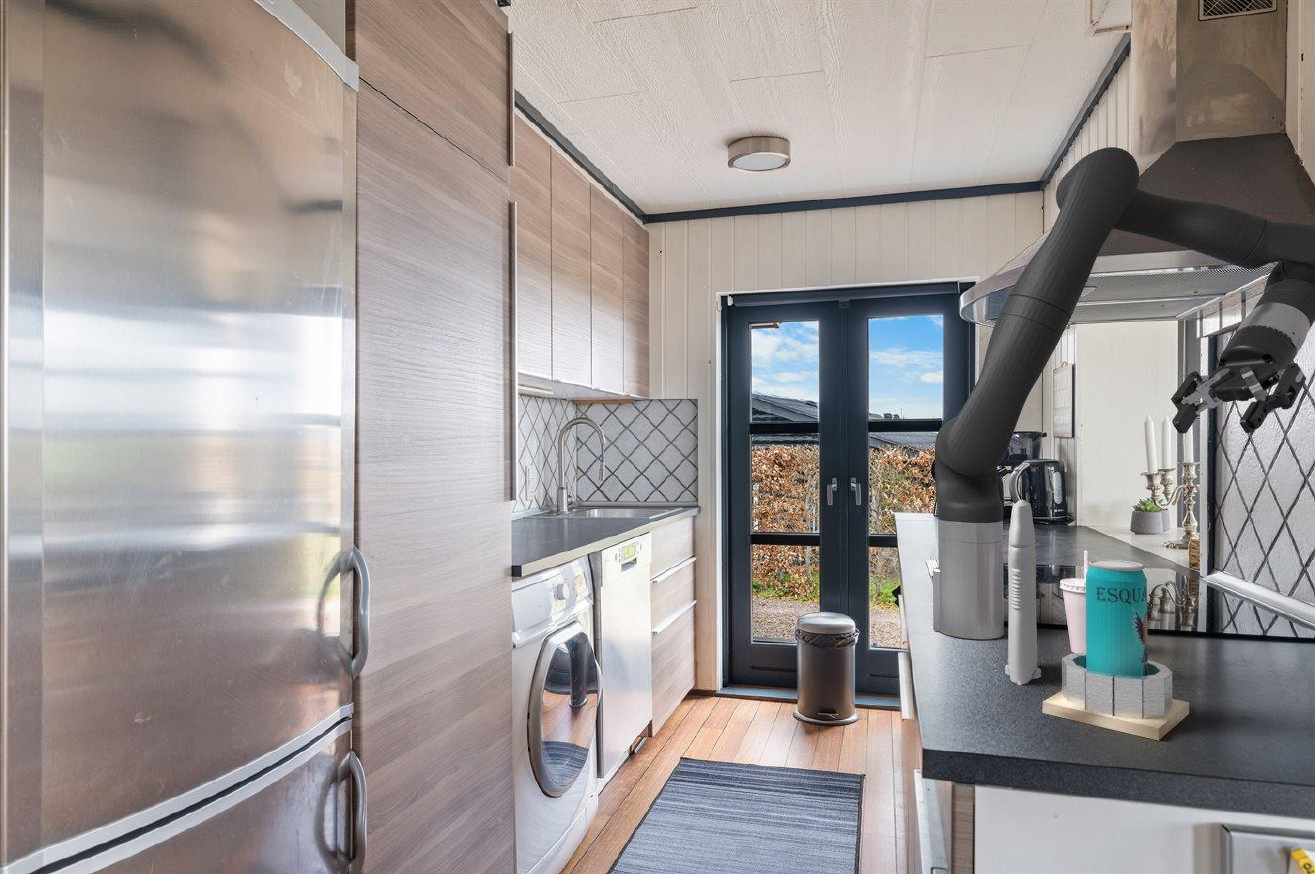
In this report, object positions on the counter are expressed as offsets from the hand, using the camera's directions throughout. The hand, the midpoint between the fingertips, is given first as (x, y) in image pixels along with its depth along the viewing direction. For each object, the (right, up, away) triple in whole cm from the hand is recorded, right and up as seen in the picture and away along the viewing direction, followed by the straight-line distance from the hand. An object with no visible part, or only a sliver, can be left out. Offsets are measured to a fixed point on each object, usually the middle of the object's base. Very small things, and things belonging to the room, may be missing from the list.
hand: (1211, 428), depth 104 cm
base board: (-23, -31, -18) cm, 43 cm away
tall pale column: (-26, -31, -4) cm, 41 cm away
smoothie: (-13, -31, +6) cm, 34 cm away
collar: (-23, -30, -18) cm, 42 cm away
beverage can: (-23, -30, -18) cm, 42 cm away
